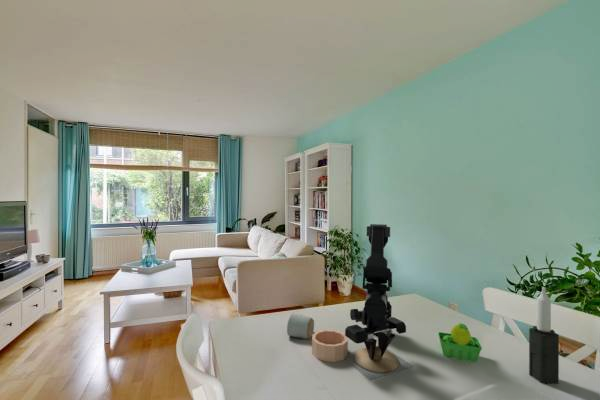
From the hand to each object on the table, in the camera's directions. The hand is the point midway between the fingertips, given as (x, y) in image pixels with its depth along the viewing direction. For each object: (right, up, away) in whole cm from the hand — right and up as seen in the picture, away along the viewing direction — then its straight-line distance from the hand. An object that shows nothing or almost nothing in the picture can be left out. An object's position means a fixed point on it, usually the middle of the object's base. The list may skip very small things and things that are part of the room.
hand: (375, 358), depth 89 cm
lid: (0, -1, 0) cm, 1 cm away
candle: (+44, -2, -7) cm, 45 cm away
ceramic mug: (-22, -1, +18) cm, 28 cm away
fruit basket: (+27, -2, +4) cm, 27 cm away
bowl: (-13, -1, +5) cm, 14 cm away
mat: (0, -1, 0) cm, 1 cm away
